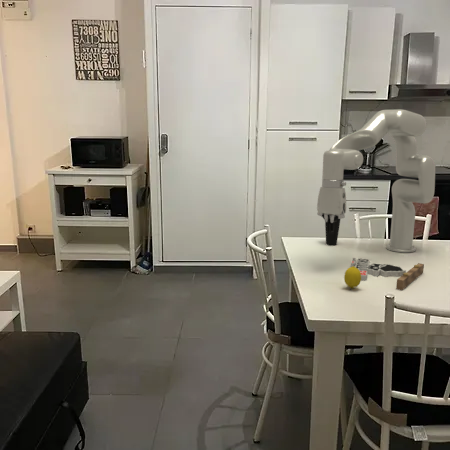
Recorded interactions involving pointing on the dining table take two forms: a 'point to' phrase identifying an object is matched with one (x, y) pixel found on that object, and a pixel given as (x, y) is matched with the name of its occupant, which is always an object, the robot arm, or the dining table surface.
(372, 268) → the decorative sign
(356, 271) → the lemon
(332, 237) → the drinking cup
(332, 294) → the dining table surface
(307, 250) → the dining table surface
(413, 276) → the walnut ledge
